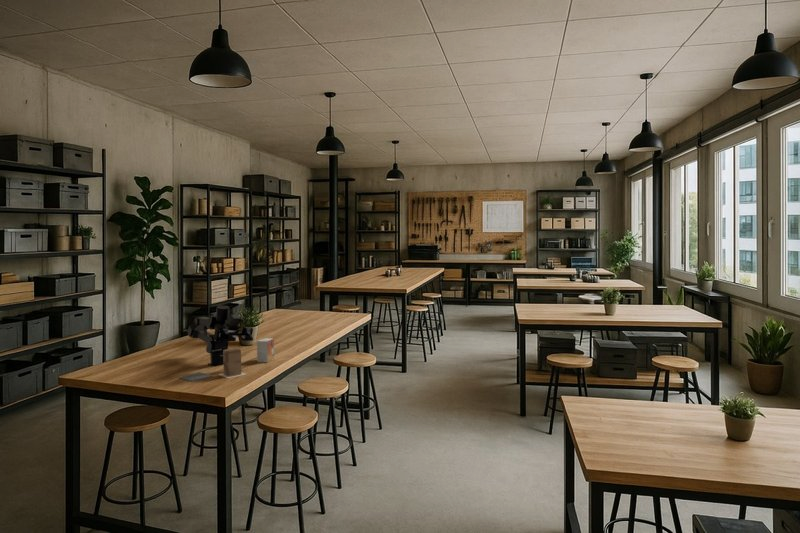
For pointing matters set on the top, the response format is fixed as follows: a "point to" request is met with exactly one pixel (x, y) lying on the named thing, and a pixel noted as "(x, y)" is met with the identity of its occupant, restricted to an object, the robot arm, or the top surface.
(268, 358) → the small box
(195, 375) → the rubber mat
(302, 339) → the top surface
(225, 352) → the walnut block
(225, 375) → the card
